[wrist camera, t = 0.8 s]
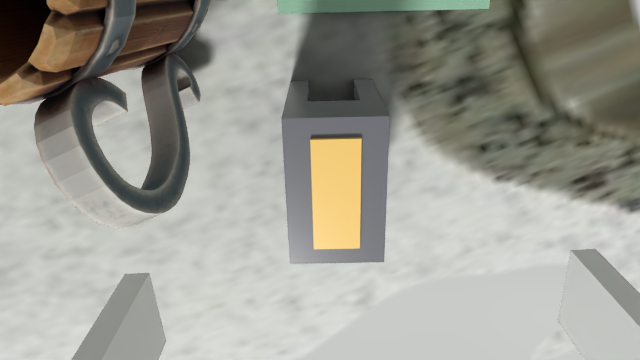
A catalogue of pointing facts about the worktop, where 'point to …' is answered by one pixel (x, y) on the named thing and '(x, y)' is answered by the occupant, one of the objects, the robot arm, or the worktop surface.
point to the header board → (375, 5)
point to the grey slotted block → (335, 175)
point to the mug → (102, 93)
